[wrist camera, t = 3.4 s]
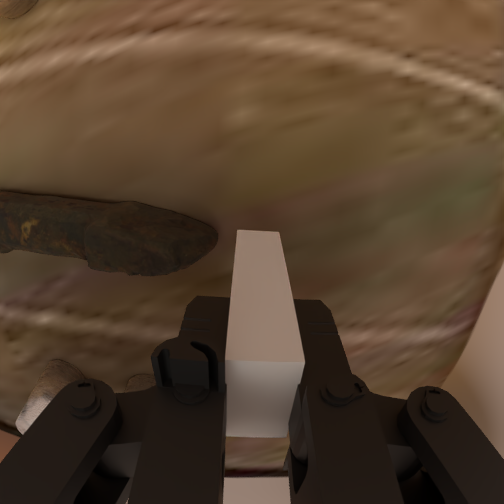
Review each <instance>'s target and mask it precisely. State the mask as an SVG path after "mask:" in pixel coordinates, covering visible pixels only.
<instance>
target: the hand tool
mask: <svg viewBox="0 0 504 504" xmlns="http://www.w3.org/2000/svg"><path fill="white" fill-rule="evenodd" d="M217 240H218V233H217V232H216V230H214V229H213V228H211V227H210V226H208V225H206V224H204V223H201V222H200V221H197V220H194V219H191V218H189V217H186V216H183V215H180V214H177V213H174V212H173V211H169V210H166V209H158V208H155V207H151V206H149V205H145V204H141V203H138V202H134V201H125V202H120V203H101V202H92V201H85V200H78V199H70V198H61V197H57V196H49V195H48V196H36V195H26V194H21V193H13V192H7V191H0V253H8V252H10V251H12V250H14V249H15V250H23V251H31V252H35V253H42V254H49V255H54V256H64V257H74V258H80V259H84V260H87V261H88V266H89V267H90V268H91V269H94V270H99V271H105V272H125V273H127V274H128V275H129V276H130V275H138V274H140V275H141V276H156V275H167V274H169V273H171V272H175V271H178V270H180V269H185V268H187V267H189V266H190V265H192V264H193V263H195V262H196V261H198V260H199V259H201V258H202V257H203V256H205V255H206V254H208V253H209V252H210V251H211V250H212V249H213V248H214V247H215V246H216V244H217Z"/></svg>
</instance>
